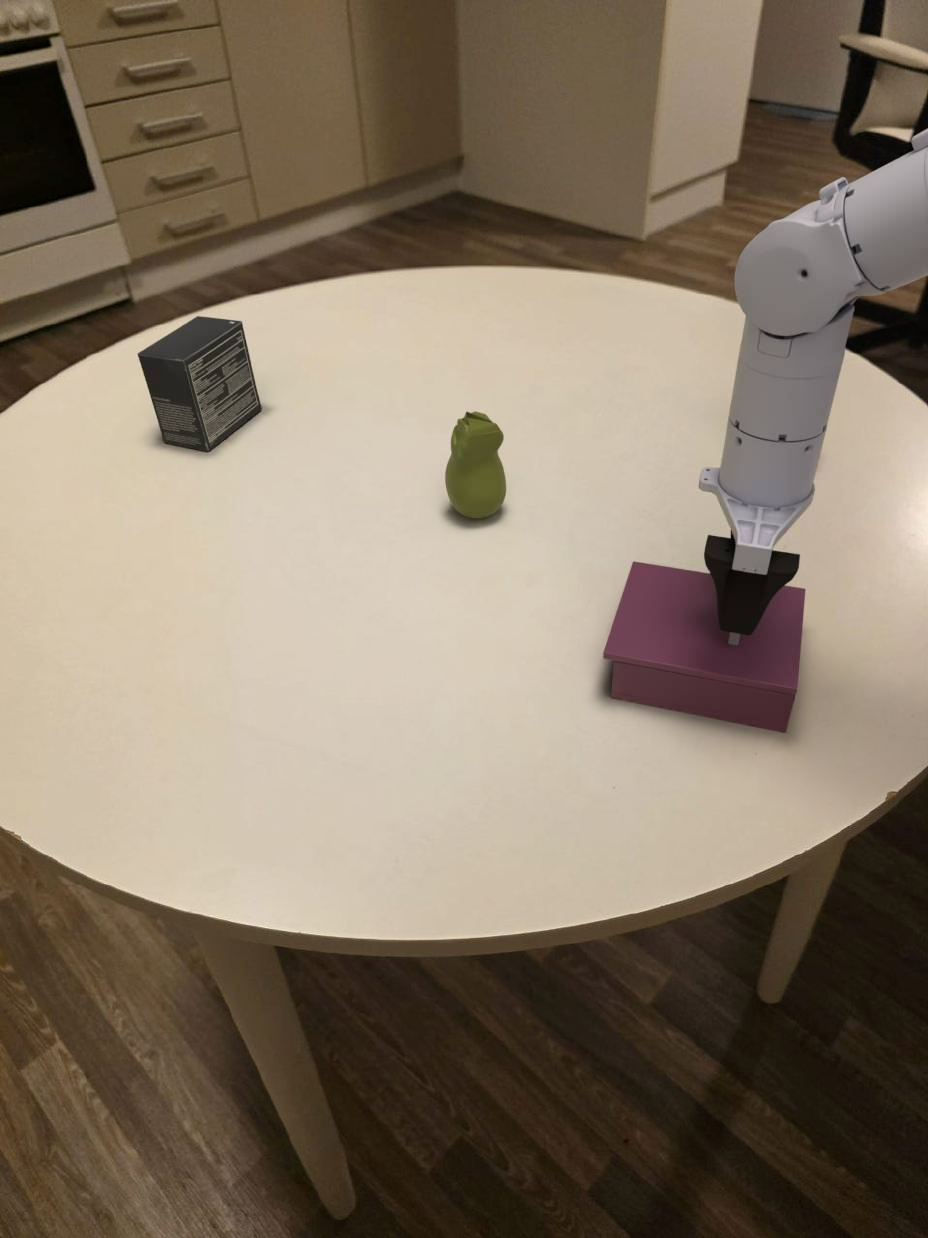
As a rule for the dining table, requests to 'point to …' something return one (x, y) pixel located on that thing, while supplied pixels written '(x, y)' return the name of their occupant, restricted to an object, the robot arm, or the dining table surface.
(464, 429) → the green figurine
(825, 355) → the robot arm
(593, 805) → the dining table surface
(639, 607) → the lid
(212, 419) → the small box
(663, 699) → the purple hinged box
